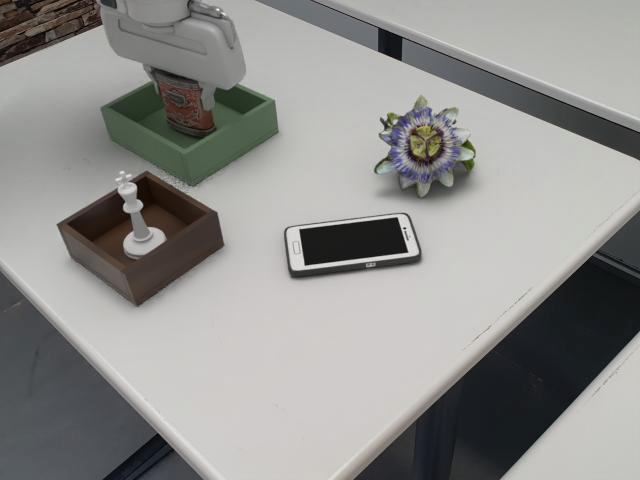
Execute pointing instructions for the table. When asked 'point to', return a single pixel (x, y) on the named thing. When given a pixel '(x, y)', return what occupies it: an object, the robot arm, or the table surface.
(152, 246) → the chess piece
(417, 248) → the cell phone
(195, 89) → the lighter
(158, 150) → the sage bin
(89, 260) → the walnut bin
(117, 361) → the table surface
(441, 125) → the passion flower
